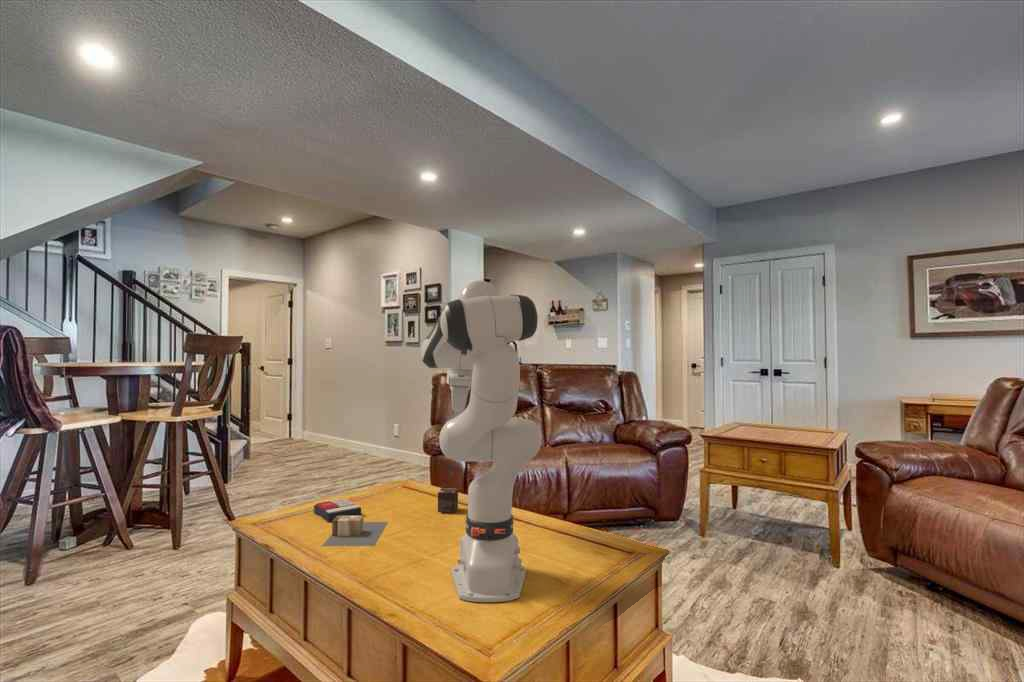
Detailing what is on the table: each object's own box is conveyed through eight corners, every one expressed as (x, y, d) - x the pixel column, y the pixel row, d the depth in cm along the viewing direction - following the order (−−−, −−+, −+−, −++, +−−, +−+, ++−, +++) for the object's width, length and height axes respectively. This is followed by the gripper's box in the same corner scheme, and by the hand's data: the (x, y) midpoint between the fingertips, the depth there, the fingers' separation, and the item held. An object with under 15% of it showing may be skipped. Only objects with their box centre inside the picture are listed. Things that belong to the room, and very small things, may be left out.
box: (458, 508, 180) (458, 488, 180) (454, 514, 174) (455, 492, 174) (441, 508, 180) (441, 487, 180) (437, 513, 174) (437, 491, 174)
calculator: (345, 497, 180) (361, 505, 169) (345, 509, 180) (361, 518, 168) (313, 502, 174) (328, 511, 162) (313, 515, 173) (328, 525, 161)
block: (359, 520, 150) (332, 520, 150) (359, 535, 150) (332, 535, 150) (363, 515, 155) (336, 515, 155) (363, 530, 155) (336, 530, 154)
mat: (374, 547, 143) (374, 545, 143) (321, 548, 142) (321, 545, 142) (388, 523, 163) (388, 521, 163) (341, 524, 162) (341, 522, 162)
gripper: (451, 376, 170) (448, 418, 169) (449, 379, 150) (446, 426, 149) (470, 378, 171) (466, 419, 170) (471, 381, 150) (467, 428, 150)
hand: (457, 422), depth 159 cm, fingers closed
